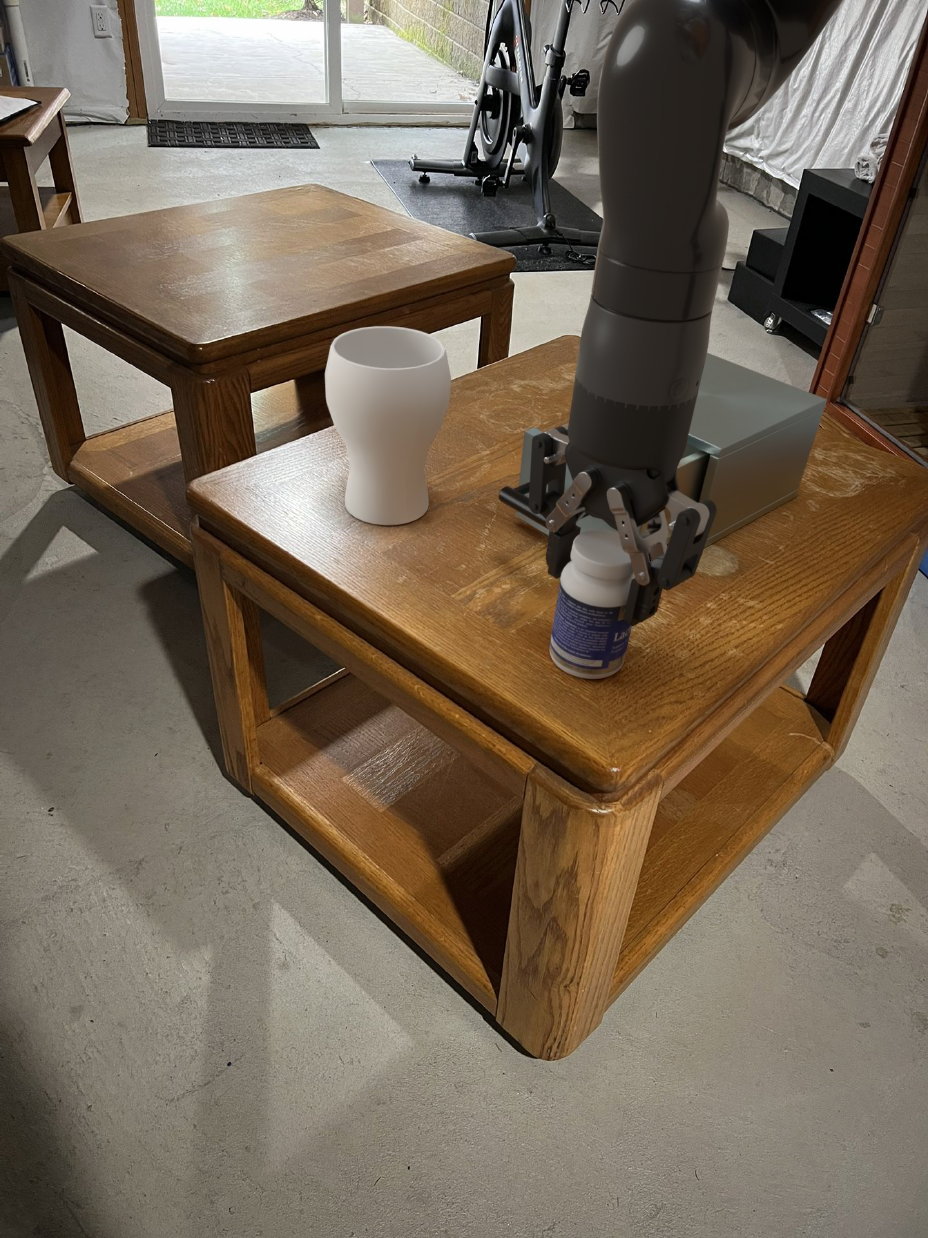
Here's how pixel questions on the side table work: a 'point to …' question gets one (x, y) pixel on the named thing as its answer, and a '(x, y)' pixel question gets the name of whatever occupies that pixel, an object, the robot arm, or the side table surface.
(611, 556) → the pill bottle
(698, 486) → the drawer
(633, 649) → the side table surface
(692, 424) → the drawer cabinet
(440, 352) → the cup
